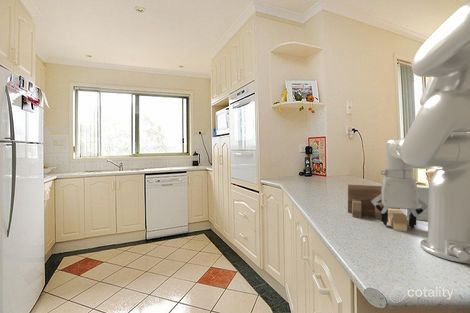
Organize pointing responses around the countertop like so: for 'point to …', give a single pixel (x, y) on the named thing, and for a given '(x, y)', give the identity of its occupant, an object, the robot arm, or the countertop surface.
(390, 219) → the light wooden block
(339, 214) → the countertop surface
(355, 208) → the wooden stand
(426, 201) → the supplement box
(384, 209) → the robot arm
